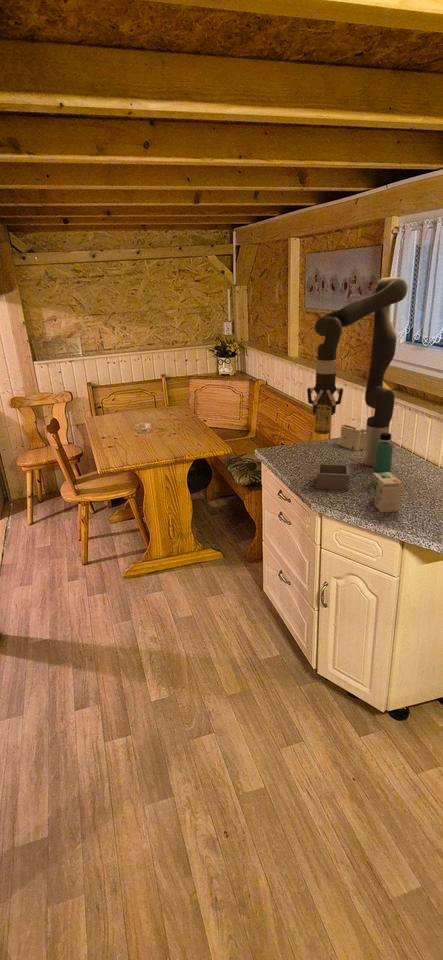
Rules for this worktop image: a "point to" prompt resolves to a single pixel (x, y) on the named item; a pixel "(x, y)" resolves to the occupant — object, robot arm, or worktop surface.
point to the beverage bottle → (383, 454)
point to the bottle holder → (333, 476)
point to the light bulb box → (386, 491)
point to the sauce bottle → (323, 412)
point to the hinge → (352, 437)
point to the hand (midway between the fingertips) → (323, 414)
